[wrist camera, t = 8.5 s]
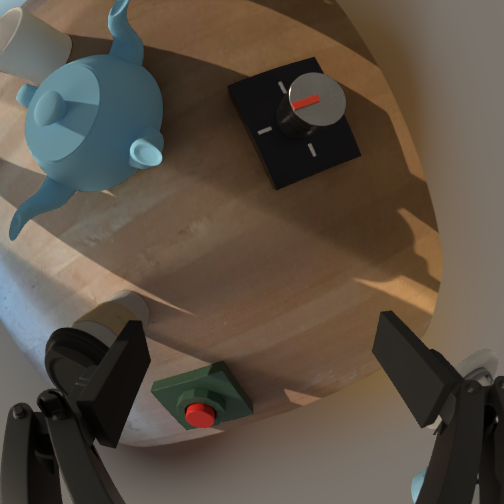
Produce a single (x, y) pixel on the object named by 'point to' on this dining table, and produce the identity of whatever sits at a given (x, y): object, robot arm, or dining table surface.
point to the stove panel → (279, 144)
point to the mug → (31, 46)
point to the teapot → (92, 122)
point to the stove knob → (310, 105)
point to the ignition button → (200, 415)
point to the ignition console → (203, 394)
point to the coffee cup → (91, 338)
